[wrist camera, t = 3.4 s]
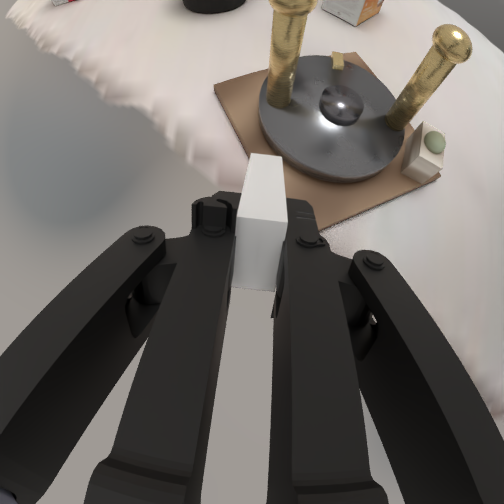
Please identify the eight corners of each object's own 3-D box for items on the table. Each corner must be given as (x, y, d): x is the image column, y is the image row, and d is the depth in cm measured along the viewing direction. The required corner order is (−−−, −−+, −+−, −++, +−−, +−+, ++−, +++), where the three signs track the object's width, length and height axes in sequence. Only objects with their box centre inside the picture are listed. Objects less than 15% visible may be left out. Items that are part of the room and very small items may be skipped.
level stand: (435, 179, 25) (469, 155, 19) (289, 244, 24) (302, 225, 18) (353, 57, 28) (367, 22, 22) (214, 91, 26) (208, 49, 20)
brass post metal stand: (391, 82, 25) (445, -11, 12) (405, 195, 23) (511, 114, 10) (265, 58, 25) (273, -58, 12) (250, 171, 23) (253, 34, 10)
